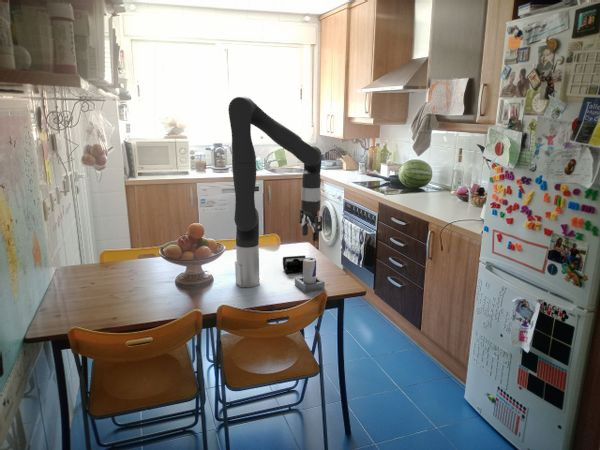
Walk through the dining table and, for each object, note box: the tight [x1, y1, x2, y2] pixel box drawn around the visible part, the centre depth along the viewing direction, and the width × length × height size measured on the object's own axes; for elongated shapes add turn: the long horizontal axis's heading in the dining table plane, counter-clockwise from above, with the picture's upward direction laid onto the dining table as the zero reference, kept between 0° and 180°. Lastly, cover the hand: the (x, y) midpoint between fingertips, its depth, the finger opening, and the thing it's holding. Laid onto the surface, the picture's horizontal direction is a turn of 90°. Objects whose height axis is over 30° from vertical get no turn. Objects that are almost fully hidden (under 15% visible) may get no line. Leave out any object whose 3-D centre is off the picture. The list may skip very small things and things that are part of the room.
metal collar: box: [294, 276, 326, 294], centre depth 183 cm, size 9×9×3 cm
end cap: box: [282, 255, 307, 275], centre depth 200 cm, size 10×7×7 cm
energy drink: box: [302, 257, 317, 284], centre depth 182 cm, size 5×5×12 cm
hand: (310, 238), depth 178 cm, fingers open, 8 cm apart
